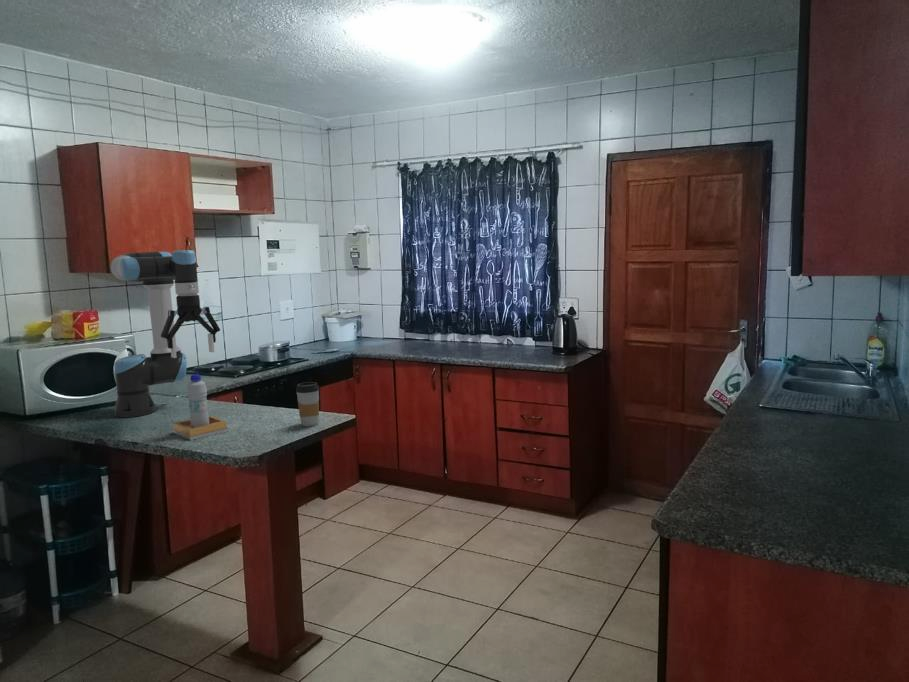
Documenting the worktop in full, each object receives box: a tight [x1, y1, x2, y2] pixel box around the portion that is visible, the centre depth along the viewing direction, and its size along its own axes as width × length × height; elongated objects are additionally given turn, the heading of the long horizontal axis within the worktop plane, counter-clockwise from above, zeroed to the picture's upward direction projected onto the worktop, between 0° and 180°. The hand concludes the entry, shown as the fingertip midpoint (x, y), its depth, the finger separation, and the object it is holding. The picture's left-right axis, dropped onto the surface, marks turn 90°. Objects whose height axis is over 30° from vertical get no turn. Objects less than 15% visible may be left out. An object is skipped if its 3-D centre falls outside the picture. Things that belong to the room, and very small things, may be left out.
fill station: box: [172, 414, 230, 441], centre depth 237 cm, size 15×14×4 cm
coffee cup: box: [295, 381, 320, 427], centre depth 241 cm, size 8×8×15 cm
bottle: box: [186, 373, 209, 428], centre depth 235 cm, size 7×7×20 cm
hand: (193, 354), depth 233 cm, fingers open, 13 cm apart
